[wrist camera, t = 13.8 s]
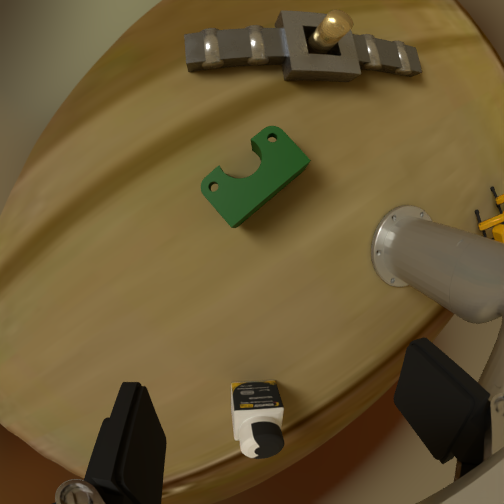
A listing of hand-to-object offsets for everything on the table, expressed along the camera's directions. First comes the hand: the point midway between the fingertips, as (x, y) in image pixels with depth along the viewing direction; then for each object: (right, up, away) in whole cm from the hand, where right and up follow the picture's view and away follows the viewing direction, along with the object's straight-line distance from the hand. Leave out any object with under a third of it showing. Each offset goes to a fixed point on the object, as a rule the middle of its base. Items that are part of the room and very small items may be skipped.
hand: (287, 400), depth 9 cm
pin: (+7, +32, +23) cm, 40 cm away
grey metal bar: (+7, +32, +23) cm, 40 cm away
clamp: (-1, +14, +26) cm, 30 cm away
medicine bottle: (-1, -19, +35) cm, 40 cm away
